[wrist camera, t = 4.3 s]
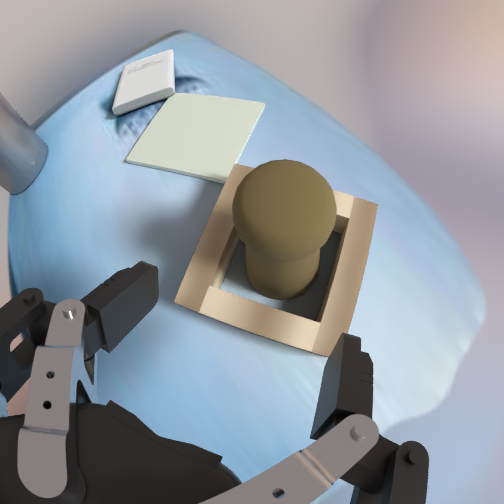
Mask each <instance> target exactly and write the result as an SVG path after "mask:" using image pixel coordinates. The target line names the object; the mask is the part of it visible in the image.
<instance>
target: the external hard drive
mask: <svg viewBox="0 0 504 504" xmlns="http://www.w3.org/2000/svg"><path fill="white" fill-rule="evenodd" d="M174 94H175V81H174V53H173V50H167V51H164V52H161V53H158V54H155V55H152V56H149V57H146V58H143V59H140V60H138V61H135V62H133V63H130V64H128V65H126V66H124V68H123V71H122V75H121V78H120V81H119V85H118V88H117V92H116V96H115V99H114V104H113V108H112V110H113V112H114V114H115V115H121V114H123V113H126V112H129V111H131V110H134V109H136V108H139V107H142V106H145V105H147V104H150V103H153V102H156V101H159V100H162V99H165V98H168V97H171V96H173V95H174Z"/></svg>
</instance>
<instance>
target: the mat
mask: <svg viewBox="0 0 504 504" xmlns="http://www.w3.org/2000/svg"><path fill="white" fill-rule="evenodd" d="M264 108H265V103H261V102H255V101H248V100H242V99H235V98H227V97H219V96H209V95H199V94H186V93H175V94H174V95H173V96H171V97H169V98H168V99H167V101H166V102H165V103H164V105H163V106H162V107H161V109H160V110H159V111H158V113H157V114H156V115H155V117H154V118H153V120H152V121H151V122H150V124H149V125H148V127H147V128H146V130H145V131H144V132H143V134H142V135H141V137H140V138H139V140H138V141H137V143H136V144H135V146H134V147H133V149H132V151H131V152H130V154H129V155H128V157H127V158H126V161H127V162H128V163H131V164H137V165H142V166H147V167H152V168H157V169H161V170H166V171H171V172H175V173H180V174H184V175H189V176H193V177H198V178H202V179H206V180H210V181H214V182H219V183H223V184H225V183H226V180H227V178H228V176H229V174H230V172H231V170H232V168H233V166H234V164H237V162H238V160H239V158H240V156H241V154H242V152H243V150H244V148H245V146H246V144H247V142H248V140H249V138H250V136H251V134H252V132H253V130H254V128H255V126H256V124H257V122H258V120H259V118H260V116H261V114H262V112H263V110H264Z"/></svg>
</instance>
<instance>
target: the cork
mask: <svg viewBox="0 0 504 504" xmlns="http://www.w3.org/2000/svg"><path fill="white" fill-rule="evenodd" d="M336 213H337V207H336V202H335V197H334V193H333V190H332V189H331V187H330V186H329V184H328V182H327V181H326V179H325V178H324V177H323V176H321V175H320V174H319V173H318V172H317V171H316V170H314V169H313V168H312V167H310V166H308V165H306V164H303V163H301V162H298V161H292V160H286V159H285V160H275V161H270V162H267V163H265V164H262V165H259V166H258V167H256V168H255V169H254V170H252V171H251V172H250V173H248V174H247V175H246V176H245V177H244V178H243V180H242V181H241V182H240V184H239V185H238V187H237V189H236V192H235V196H234V199H233V203H232V216H233V223H234V225H235V227H236V230H237V232H238V234H239V237H240V239H241V240H242V241H243V242H244V243H245V244H246V247H245V272H246V275H247V277H248V279H249V282H250V284H251V285H252V286H253V287H254V288H255V289H256V290H257V291H258V292H259V293H261V294H263V295H264V296H266V297H268V298H272V299H276V300H287V299H293V298H296V297H298V296H300V295H302V294H304V293H305V292H306V291H307V290H308V289H309V288H310V287H311V286H312V285H313V283H314V281H315V280H316V278H317V276H318V270H319V265H320V248H321V247H322V246H323V245H324V244H325V243H326V242H327V240H328V238H329V236H330V234H331V232H332V230H333V228H334V226H335V222H336Z"/></svg>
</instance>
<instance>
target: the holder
mask: <svg viewBox="0 0 504 504" xmlns="http://www.w3.org/2000/svg"><path fill="white" fill-rule="evenodd" d="M254 169H255V168H251V167H247V166H243V165H239V164H234V166H233V168H232V170H231V172H230V174H229V176H228V178H227V180H226V183H225V185H224V187H223V189H222V191H221V193H220V195H219V198H218V200H217V202H216V204H215V206H214V209H213V211H212V213H211V215H210V217H209V220H208V222H207V224H206V226H205V229H204V231H203V233H202V236H201V238H200V240H199V242H198V245H197V247H196V249H195V252H194V254H193V256H192V259H191V261H190V264H189V266H188V268H187V271H186V273H185V276H184V278H183V281H182V283H181V285H180V288H179V290H178V293H177V295H176V298H175V300H174V302H175V303H177V304H179V305H181V306H184V307H186V308H188V309H191V310H193V311H196V312H198V313H201V314H203V315H206V316H208V317H211V318H214V319H216V320H219V321H221V322H224V323H227V324H229V325H232V326H235V327H238V328H240V329H243V330H246V331H249V332H252V333H254V334H257V335H260V336H263V337H266V338H269V339H272V340H275V341H278V342H281V343H284V344H287V345H290V346H293V347H297V348H300V349H303V350H306V351H309V352H313V353H316V354H319V355H323V356H326V357H329V356H330V354H331V352H332V350H333V348H334V347H335V345H336V343H337V341H338V339H339V337H340V335H341V334H342V333H347V334H348V330H349V327H350V324H351V320H352V317H353V313H354V310H355V306H356V302H357V299H358V295H359V291H360V287H361V283H362V279H363V275H364V271H365V266H366V262H367V258H368V253H369V248H370V244H371V239H372V234H373V228H374V223H375V217H376V212H377V206H378V204H375V203H372V202H369V201H366V200H363V199H360V198H357V197H354V196H351V195H348V194H345V193H342V192H339V191H335V190H333V193H334V197H335V202H336V207H337V213H336V222H335V226H334V228H333V230H332V231H335V232H338V233H341V237H340V241H339V245H338V249H337V253H336V257H335V260H334V264H333V268H332V271H331V275H330V278H329V282H328V285H327V288H326V292H325V295H324V298H323V302H322V305H321V308H320V311H319V315H318V318H317V321H313V320H309V319H306V318H303V317H300V316H297V315H294V314H291V313H287V312H284V311H281V310H278V309H275V308H272V307H269V306H266V305H263V304H260V303H257V302H254V301H252V300H249V299H246V298H243V297H240V296H237V295H234V294H231V293H229V292H226V291H223V290H220V287H221V284H222V282H223V279H224V276H225V274H226V271H227V269H228V266H229V264H230V261H231V259H232V256H233V254H234V251H235V248H236V246H237V243H238V241H239V238H240V237H239V234H238V232H237V230H236V227H235V225H234V223H233V216H232V203H233V199H234V196H235V192H236V189H237V187H238V185H239V184H240V182H241V181H242V180H243V178H244V177H245V176H246V175H247V174H248V173H250V172H251V171H252V170H254Z"/></svg>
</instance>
